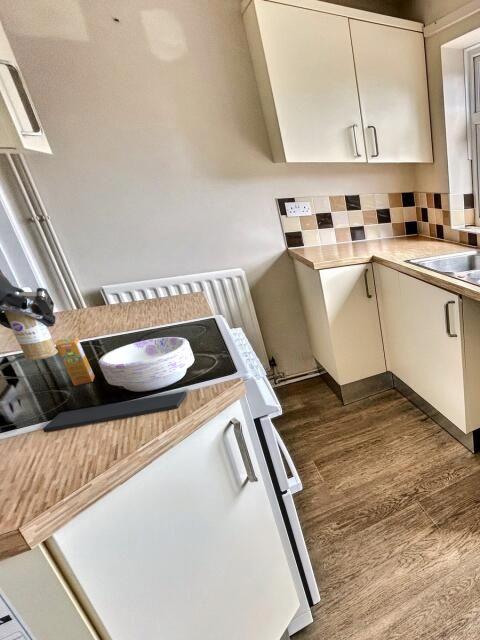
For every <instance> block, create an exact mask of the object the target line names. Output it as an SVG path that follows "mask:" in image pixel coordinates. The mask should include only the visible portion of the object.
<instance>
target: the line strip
mask: <svg viewBox="0 0 480 640" xmlns="http://www.w3.org/2000/svg"><path fill="white" fill-rule="evenodd" d="M186 396H187V392H186V391H180V392H179V391H177V392H173V393H167V394H162V395H155V396H150V397H144V398H139V399H132V400H125V401H120V402H115V403H108V404H103V405H97V406H91V407H86V408H80V409H74V410H68V411H62V412H59V413H58V414H57V415H56V416H55V417H54V418H53V419H51V421H49V422H48V423H47V424H46V425H45V426H44V427H43V428H42V431H43V432H44V433H49V432H55V431H59V430H66V429H72V428H75V427H76V428H77V427H81V426H88V425H92V424H99V423H104V422H110V421H114V420H120V419H126V418H131V417H137V416H143V415H148V414H153V413H154V414H155V413H159V412H164V411H170V410H175V409H179V407H180V406H181V404H182V402H183V401H184V399H185V398H186Z"/></svg>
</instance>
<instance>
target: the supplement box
mask: <svg viewBox="0 0 480 640" xmlns="http://www.w3.org/2000/svg"><path fill="white" fill-rule="evenodd" d="M55 348H56V349H57V350H58V355H60V359H61V360H62V362H63V365H64V367H65V369H66V372H67V374H68V376H69V379H70V380H71V383H72V385H73V386H75V387H76V386H81V385H85V384H90V383H93V382H94V379H95V374H94V372H93V370H92V367H91V365H90V362H89V360H88V359H87V356H86V354H85V351H84V349H83V347H82V344H81V342H80V339H79V338H78V337H72V338H71V337H70V338H65V339H58V340H57V341H56V344H55Z"/></svg>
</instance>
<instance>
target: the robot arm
mask: <svg viewBox="0 0 480 640" xmlns="http://www.w3.org/2000/svg"><path fill="white" fill-rule="evenodd" d="M31 307H32V308H34V311H32V309H31ZM54 307H55V303H54V301H53V299H52V297H51V295H50V294H49V292H48V289H46V288H44V287H37V288H36V291H32V292H26V291H24V290H22V289H20V288H19V287H17V286H14V285H13V284H12V283H11V282H10V280H9V279H8V278H7V277H6V276H5V275H4V274H2V273H1V272H0V325H1V326H2V327H4V328H6V329H9V330H12V327H11V325H10V323H9V321H8V319H7V317H6V315H5V313H4V311H10V312H13V313H16V314H19V315H21V316H23V315H28V316H31V317H33V318H35V319H36V320H38V321H39V322H41V323H43V324H44V325H46V326H47V328H50V327H54V326H55V324H56V315H54Z"/></svg>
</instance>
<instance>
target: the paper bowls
mask: <svg viewBox="0 0 480 640" xmlns="http://www.w3.org/2000/svg"><path fill="white" fill-rule="evenodd" d="M194 362H195V356H194V353H193V350H192V348H191V345H190V342H189V341H188V339H186V338H184V337H181V336H180V337H179V336H165V337H157V338H156V337H155V338H149V339H145V340H140V341H137V342H133V343H129V344H126V345H123V346H120V347H118V348H115V349H112V350H111V351H109V352H107V353H105V354H103V355H102V356H101V357H100V358H99V360H98V365H99V367H100V369H101V371H102V373H103V376H104V379H105V380H106V382H107V383H108V384H109V385H110V386H111V385H112V386H118V387H123V388H125V389H126V390H128V391H130V392H136V393H137V392H139V393H141V392H142V393H143V392H149V391H154V390H159V389H162V388H166V387H169V386H171V385H173V384H175V383H177V382H179V381H180V380H181V379H183V378H184V377H185V376H186V374H187V369H188V368H190V367H191V366H192V365H193V364H194Z"/></svg>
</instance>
